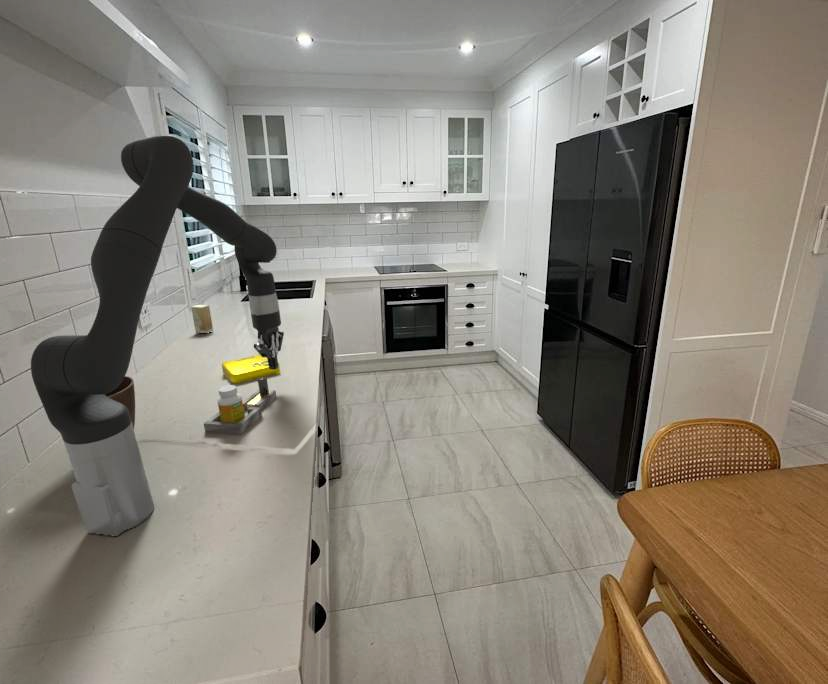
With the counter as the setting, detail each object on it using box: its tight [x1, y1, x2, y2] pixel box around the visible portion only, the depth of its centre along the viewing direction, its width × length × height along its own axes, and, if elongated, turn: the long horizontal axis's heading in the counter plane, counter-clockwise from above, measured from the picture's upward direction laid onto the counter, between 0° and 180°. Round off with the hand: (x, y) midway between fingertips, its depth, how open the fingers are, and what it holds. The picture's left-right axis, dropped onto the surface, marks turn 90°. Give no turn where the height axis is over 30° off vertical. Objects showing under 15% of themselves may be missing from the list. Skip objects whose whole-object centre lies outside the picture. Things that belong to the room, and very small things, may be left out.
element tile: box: [221, 353, 281, 384], centre depth 138 cm, size 15×15×5 cm
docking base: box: [203, 389, 277, 436], centre depth 110 cm, size 24×13×3 cm, turn 169°
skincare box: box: [190, 304, 214, 334], centre depth 187 cm, size 6×4×12 cm
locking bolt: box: [246, 376, 271, 410], centre depth 114 cm, size 8×2×6 cm, turn 169°
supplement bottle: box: [217, 384, 246, 423], centre depth 103 cm, size 5×5×10 cm
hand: (273, 368), depth 122 cm, fingers closed
